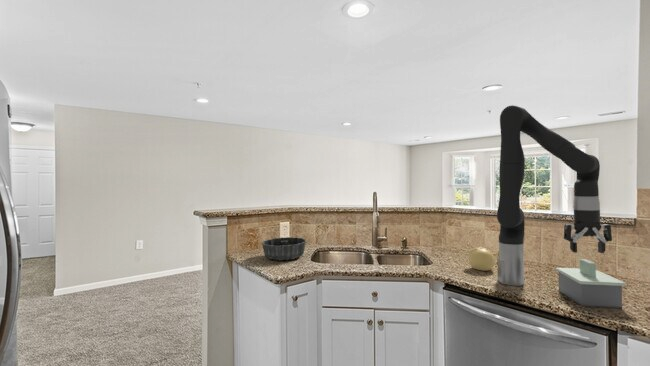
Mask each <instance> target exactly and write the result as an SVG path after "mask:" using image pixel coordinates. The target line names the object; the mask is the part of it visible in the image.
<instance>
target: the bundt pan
mask: <svg viewBox="0 0 650 366" xmlns="http://www.w3.org/2000/svg"><path fill="white" fill-rule="evenodd" d="M306 242H307V239H305V238H303V237H290V236H287V237H275V238H271V239H266V240H264V241H262V243H261V245H262V249H263V253H264V256H265V258H268V259H270V260H272V259H273V261H275V260H277V261H284V260H285V261H289V260H295V258H296V259H299V258H300V257H302V256H303V255H304V253H305V247H306Z"/></svg>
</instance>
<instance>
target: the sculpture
mask: <svg viewBox="0 0 650 366" xmlns="http://www.w3.org/2000/svg"><path fill="white" fill-rule="evenodd" d="M467 252H468V253H467V255H468V256H467V257H468V262H469V265H470V267H471V268H472V269H474V270H477V271H484V272H485V271H491V270H493V268H494V267H495V264H496V261H495V260H496V259H495V256H494V255H493V250H491V249H489V248H485V247H480V246H478V247H475V248H472V249H469V250H468V251H467Z"/></svg>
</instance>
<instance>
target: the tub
mask: <svg viewBox="0 0 650 366" xmlns="http://www.w3.org/2000/svg"><path fill="white" fill-rule="evenodd" d="M558 292H560V293H561V294H563V295H564V296H566V297H567V298H569V299H570V300H572V301H574V302H575V303H576V304H577V305H579V306H581V307H583V308H584V307H587V308H589V307H590V308H601V309H602V308H604V309H605V308H606V309H623V286H614V285H591V284H579V283H578V282H576V281H574V280H572V279H571V278H569V277H567V276H565V275H563V274H562V273H560V272H558Z"/></svg>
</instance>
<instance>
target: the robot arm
mask: <svg viewBox="0 0 650 366" xmlns="http://www.w3.org/2000/svg"><path fill="white" fill-rule="evenodd" d="M499 127H500V156H499V198H498V199H499V200H498V207H497V212H496V218H497V222H498V223H499V225H500V229H499V234H498V251H499V257H498V258H497V280H498V282H500V283H501V284H502V285H507V286H515V287H518V286H523V285H524V284H525V259H524V255H525V254H524V253H525V252H524V247H525V246H524V245H525V244H524V238H525V213H524V211H523V209H522V208H521V206H520V197H521V190H522V186H523V183H524V178H525V171H526V169H525V167H526V165H525V164H526V159H525V154H524V149H523V146H522V141H521V133H523V134H525V135H527V136H528V137H530V138H532V139H533V140H534V141H535V142H537V143H538V144H539V145H540V147H542V148H543V149H544V150H546V151H547V152H548V153H550V154H551V155H553V156H554V157H556V158H558V159H560V161H561V162H562V163H564V164H565V165H567V167H568V168H570V169H571V170H572V171H574V172H576V179H575V182H574V183H573V184H574V185H573V206H572V207H573V221H574V223H573V224H568V223H564V225H563V227H564V228H563V239H564V240H565V241H567V242H569V247H570V248H569V249H570V251H571V252H573V254H574V253H576V254H577V253H578V240H579V239H581V238H582V237H594V238H595V239H596V240H597V241H598V242H597V252H598V253H600V254H604V253H605V252H606V251H607V250H606V243H607V242H612V240H613V236H612V225H610V224H608V223H607V224H606V223H603V224H601V205H600V204H601V202H600V196H599V195H600V193H599V178H600V171H601V169H600V167H601V166H600V165H601V164H600V160H599V159H598V158H597V157H596V156H595V155H592V154H589V153H587V152H584V151H583V150H581V149H579V148H578V147H576V145H575V144H574V143H573V142H571V141H570V140H568V139H566V138H565V137H563V136H562V135H560V134H558V133H557V132H556V131H554V130H552V129H550V128H548V127H546V126H545V125H543V124H542V123H541V122H539V120H537V119H536V118H535V117H534V116H533V115H532V114H530V113H529V112H528V111H527V110H526V109H525V108H523V107H522V106H518V105H515V104H514V105H513V104H512V105H508V106H506V107H505V108H503V109H502V111H501V112H500V115H499ZM573 229H574V230H575V231H574V232H573V233H572V231H573ZM601 230H602V233H603V235H602V234H601V232H600V231H601Z"/></svg>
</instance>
